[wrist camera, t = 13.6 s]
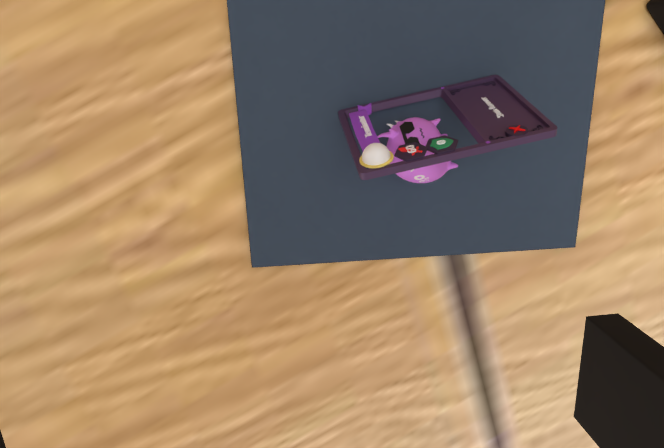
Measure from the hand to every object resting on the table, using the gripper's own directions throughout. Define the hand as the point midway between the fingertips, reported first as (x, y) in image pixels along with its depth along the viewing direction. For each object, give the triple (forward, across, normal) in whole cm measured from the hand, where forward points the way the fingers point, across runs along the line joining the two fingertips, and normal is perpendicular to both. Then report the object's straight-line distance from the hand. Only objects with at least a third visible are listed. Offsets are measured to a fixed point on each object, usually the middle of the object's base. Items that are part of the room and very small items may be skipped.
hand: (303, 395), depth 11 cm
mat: (+18, +8, +3) cm, 20 cm away
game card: (+18, +8, +3) cm, 20 cm away
